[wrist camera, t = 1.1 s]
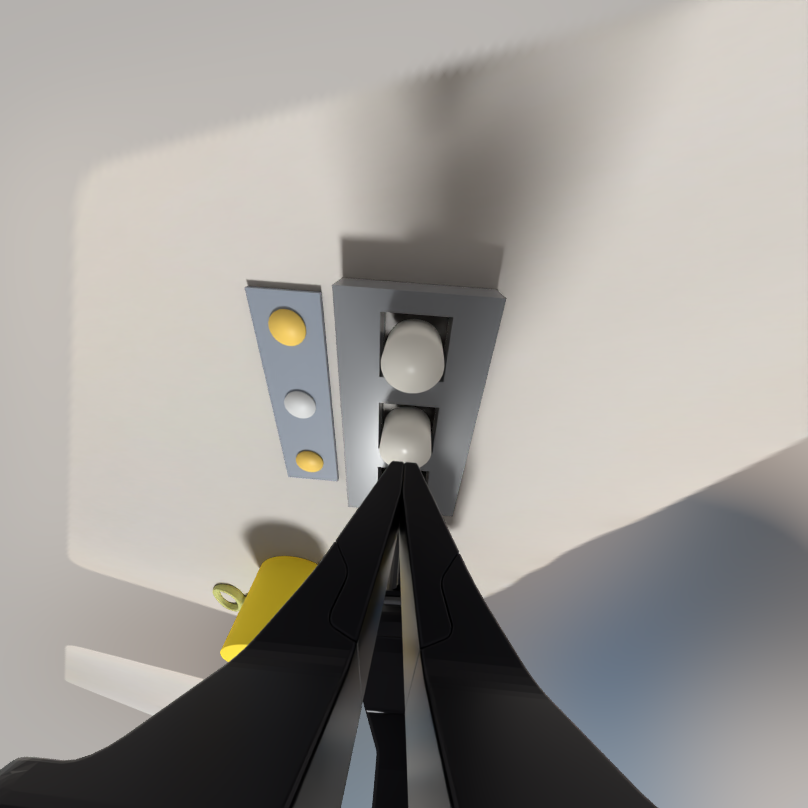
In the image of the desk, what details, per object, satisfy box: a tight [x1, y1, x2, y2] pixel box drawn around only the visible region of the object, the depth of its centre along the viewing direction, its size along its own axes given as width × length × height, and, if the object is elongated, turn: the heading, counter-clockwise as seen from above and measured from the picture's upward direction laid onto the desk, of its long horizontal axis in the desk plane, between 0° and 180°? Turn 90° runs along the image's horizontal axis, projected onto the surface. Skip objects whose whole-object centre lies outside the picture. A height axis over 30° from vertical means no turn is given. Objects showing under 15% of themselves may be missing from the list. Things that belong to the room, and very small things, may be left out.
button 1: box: [381, 319, 444, 393], centre depth 17 cm, size 4×4×3 cm
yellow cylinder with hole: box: [220, 556, 318, 662], centre depth 37 cm, size 10×10×9 cm
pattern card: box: [245, 286, 339, 481], centre depth 24 cm, size 18×5×1 cm, turn 176°
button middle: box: [379, 406, 431, 468], centre depth 21 cm, size 4×4×3 cm
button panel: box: [332, 278, 506, 516], centre depth 23 cm, size 20×10×2 cm, turn 176°
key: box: [213, 584, 246, 611], centre depth 44 cm, size 7×12×2 cm, turn 101°
